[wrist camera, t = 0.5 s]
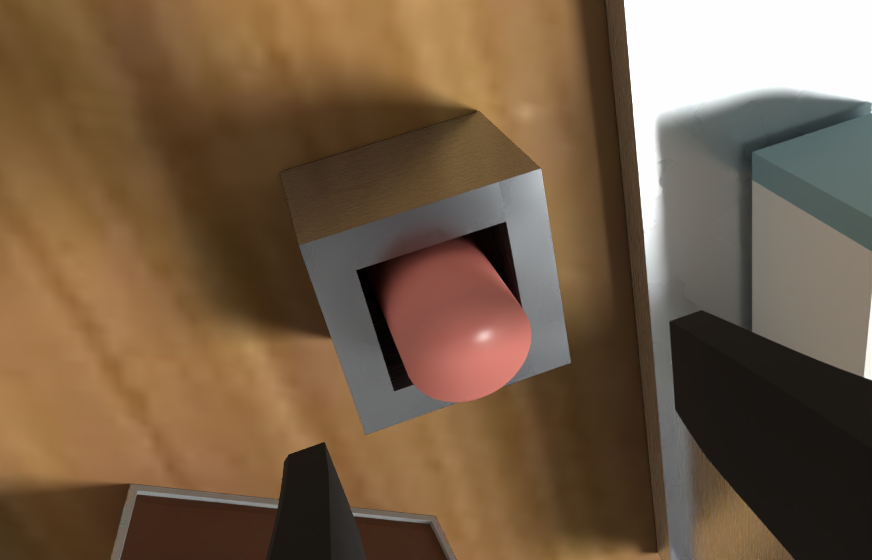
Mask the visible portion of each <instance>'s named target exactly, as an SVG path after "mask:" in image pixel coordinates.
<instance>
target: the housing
mask: <svg viewBox="0 0 872 560" xmlns="http://www.w3.org/2000/svg"><path fill="white" fill-rule="evenodd" d="M605 2H606V13H607V23H608V33H609V44H610V54H611V65H612V75H613V86H614V96H615V107H616V117H617V128H618V138H619V149H620V159H621V170H622V180H623V191H624V201H625V212H626V222H627V233H628V243H629V254H630V264H631V275H632V285H633V296H634V306H635V317H636V327H637V338H638V348H639V359H640V369H641V380H642V390H643V401H644V411H645V422H646V432H647V443H648V453H649V464H650V474H651V485H652V495H653V506H654V516H655V527H656V537H657V548H658V555H659V556H660V558H661V559H662V560H794V559H793V557H792V556H791V555H790V554H789V553H788V551H787V550H786V549H785V548H784V547H783V546H782V545H781V543H780V542H779V541H778V540H777V539H776V538H775V536H774V535H773V534H772V533H771V532H770V531H769V530H768V528H767V527H766V526H765V525H764V524H763V523H762V522H761V520H760V519H759V518H758V517H757V516H756V515H755V513H754V512H753V511H752V510H751V509H750V508H749V507H748V505H747V504H746V503H745V502H744V501H743V500H742V499H741V497H740V496H739V495H738V494H737V493H736V492H735V490H734V489H733V488H732V487H731V486H730V485H729V483H728V482H727V481H726V480H725V479H724V478H723V476H722V475H721V474H720V473H719V472H718V471H717V469H716V468H715V467H714V466H713V465H712V463H711V462H710V461H709V460H708V459H707V458H706V456H705V455H704V453H703V452H702V450H701V449H700V447H699V446H698V444H697V443H696V441H695V440H694V438H693V437H692V436H691V434H690V432H689V431H688V429H687V428H686V426H685V425H684V423H683V421H682V420H681V418H680V417H679V415H678V414H677V412H676V410H675V400H674V385H673V370H672V355H671V341H670V326H669V321H672V320H674V319H677V318H680V317H683V316H686V315H689V314H692V313H694V312H697V311H700V310H702V311H705V312H707V313H710V314H712V315H715V316H717V317H719V318H722V319H724V320H726V321H729V322H731V323H733V324H735V325H738V326H740V327H742V328H744V329H747V330H749V331H751V332H752V152H754V151H757V150H760V149H763V148H766V147H769V146H772V145H775V144H778V143H781V142H784V141H787V140H791V139H794V138H797V137H800V136H803V135H806V134H809V133H812V132H815V131H818V130H821V129H824V128H827V127H830V126H833V125H836V124H839V123H843V122H846V121H849V120H852V119H855V118H858V117H861V116H864V115H867V114H870V113H872V0H605Z"/></svg>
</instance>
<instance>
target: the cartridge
mask: <svg viewBox="0 0 872 560" xmlns="http://www.w3.org/2000/svg"><path fill="white" fill-rule="evenodd" d="M752 332H753V333H756V334H758V335H760V336H763V337H765V338H767V339H769V340H772V341H774V342H776V343H779V344H781V345H783V346H786V347H788V348H790V349H793V350H795V351H797V352H800V353H802V354H805V355H807V356H809V357H812V358H814V359H817V360H819V361H822V362H824V363H827V364H829V365H832V366H835V367H837V368H840V369H842V370H845V371H848V372H850V373H853V374H856V375H859V376H862V377H864V378H867V379H870V380H872V113H870V114H867V115H864V116H861V117H858V118H855V119H852V120H849V121H846V122H843V123H839V124H836V125H833V126H830V127H827V128H824V129H821V130H818V131H815V132H812V133H809V134H806V135H803V136H800V137H797V138H794V139H791V140H787V141H784V142H781V143H778V144H775V145H772V146H769V147H766V148H763V149H760V150H757V151H754V152H752Z"/></svg>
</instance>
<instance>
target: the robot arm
mask: <svg viewBox="0 0 872 560" xmlns="http://www.w3.org/2000/svg"><path fill="white" fill-rule="evenodd" d="M669 326H670V341H671V355H672V370H673V385H674V400H675V410H676V412H677V414H678V415H679V417H680V418H681V420H682V421H683V423H684V425H685V426H686V428H687V429H688V431H689V432H690V434H691V436H692V437H693V438H694V440H695V441H696V443H697V444H698V446H699V447H700V449H701V450H702V452H703V453H704V455H705V456H706V458H707V459H708V460H709V461H710V462H711V463H712V465H713V466H714V467H715V468H716V469H717V471H718V472H719V473H720V474H721V475H722V476H723V478H724V479H725V480H726V481H727V482H728V483H729V485H730V486H731V487H732V488H733V489H734V490H735V492H736V493H737V494H738V495H739V496H740V497H741V499H742V500H743V501H744V502H745V503H746V504H747V505H748V507H749V508H750V509H751V510H752V511H753V512H754V513H755V515H756V516H757V517H758V518H759V519H760V520H761V522H762V523H763V524H764V525H765V526H766V527H767V528H768V530H769V531H770V532H771V533H772V534H773V535H774V536H775V538H776V539H777V540H778V541H779V542H780V543H781V545H782V546H783V547H784V548H785V549H786V550H787V551H788V553H789V554H790V555H791V556H792V557H793V559H794V560H872V380H870V379H867V378H864V377H862V376H859V375H856V374H853V373H850V372H848V371H845V370H842V369H840V368H837V367H835V366H832V365H829V364H827V363H824V362H822V361H819V360H817V359H814V358H812V357H809V356H807V355H805V354H802V353H800V352H797V351H795V350H793V349H790V348H788V347H786V346H783V345H781V344H779V343H776V342H774V341H772V340H769V339H767V338H765V337H763V336H760V335H758V334H756V333H753V332H751V331H749V330H747V329H744V328H742V327H740V326H738V325H735V324H733V323H731V322H729V321H726V320H724V319H722V318H719V317H717V316H715V315H712V314H710V313H707V312H705V311H702V310H700V311H697V312H694V313H692V314H689V315H686V316H683V317H680V318H677V319H674V320H672V321H669ZM266 560H367V559H366V555H365V552H364V548H363V544H362V541H361V537H360V533H359V530H358V526H357V523H356V521H355V518H354V516H353V513H352V511H351V508H350V506H349V503H348V500H347V498H346V495H345V493H344V490H343V488H342V485H341V483H340V480H339V478H338V475H337V472H336V470H335V467H334V465H333V462H332V460H331V457H330V455H329V452H328V450H327V447H326V444H325V442H323V443H320V444H318V445H315V446H312V447H309V448H306V449H303V450H300V451H298V452H295V453H292V454H289V455H288V457H287V458H286V460H285V461H284V469H283V478H282V485H281V492H280V498H279V503H278V508H277V513H276V518H275V523H274V528H273V532H272V536H271V540H270V544H269V548H268V552H267V556H266Z"/></svg>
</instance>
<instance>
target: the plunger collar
mask: <svg viewBox="0 0 872 560" xmlns="http://www.w3.org/2000/svg"><path fill="white" fill-rule="evenodd" d="M280 175H281V179H282V183H283V187H284V191H285V195H286V198H287V202H288V206H289V210H290V214H291V218H292V222H293V225H294V229H295V233H296V237H297V241H298V245H299V248H300V251H301V253H302V256H303V259H304V262H305V265H306V268H307V270H308V273H309V276H310V279H311V282H312V285H313V287H314V290H315V293H316V296H317V299H318V302H319V304H320V307H321V310H322V313H323V316H324V319H325V321H326V324H327V327H328V330H329V333H330V336H331V338H332V341H333V344H334V347H335V350H336V353H337V355H338V358H339V361H340V364H341V367H342V370H343V372H344V375H345V378H346V381H347V384H348V387H349V389H350V392H351V395H352V398H353V401H354V404H355V406H356V409H357V412H358V415H359V418H360V421H361V423H362V426H363V429H364V432H365V435H367V434H370V433H373V432H375V431H378V430H381V429H384V428H387V427H390V426H393V425H395V424H398V423H401V422H404V421H407V420H410V419H412V418H415V417H418V416H421V415H424V414H427V413H430V412H432V411H435V410H438V409H441V408H444V407H447V406H449V405H452V404H455V403H458V402H446V401H440V400H437V399H434V398H432V397H429V396H427V395H426V394H424V393H422V392H421V391H420V390H419V389H418V388H416V386H415V385H414V384H413V383H412V381H411V380H410V378H409V376H408V374H407V371H406V369H405V366H404V364H403V362H402V359H401V357H400V354H399V352H398V349H397V347H396V344H395V342H394V339H393V337H392V334H391V332H390V329H389V327H388V324H387V322H386V319H385V317H384V314H383V312H382V309H381V307H380V304H379V302H378V299H377V297H376V298H373V299H370V300H367V301H366V300H365V297H364V294H363V291H362V288H361V285H360V281H359V278H358V275H357V272H356V270H358V269H361V268H364V267H367V266H371V265H374V264H377V263H380V262H383V261H386V260H389V259H392V258H395V257H398V256H401V255H404V254H407V253H411V252H414V251H417V250H420V249H423V248H426V247H429V246H432V245H435V244H438V243H441V242H444V241H447V240H451V239H454V238H457V237H460V236H463V235H466V234H470V235H471V237H472V238H473V239H474V241H475V242H476V244H477V245H478V247H479V248H480V249H481V251H482V252H483V254H484V255H485V256H486V258H487V259H488V261H489V262H490V263H491V265H492V266H493V268H494V269H495V270H496V272H497V273H498V275H499V276H500V278H501V279H502V280H503V282H504V283H505V285H506V286H507V287H508V289H509V290H510V292H511V293H512V294H513V296H514V297H515V299H516V300H517V302H518V303H519V304H520V306H521V307H522V309H523V310H524V312H525V313H526V315H527V317H528V319H529V323H530V326H531V344H530V349H529V352H528V355H527V357H526V359H525V361H524V363H523V365H522V366H521V368H520V369H519V371H518V372H517V373H516V374H515V376H514V377H513V378H512V379H511V380H510V381H509V382H507V383H506V384H505V385H504V386H506V385H509V384H512V383H515V382H518V381H521V380H523V379H526V378H529V377H532V376H535V375H538V374H541V373H543V372H546V371H549V370H552V369H555V368H558V367H560V366H563V365H566V364H569V363H571V359H570V353H569V346H568V340H567V333H566V327H565V320H564V314H563V307H562V301H561V294H560V288H559V282H558V275H557V269H556V262H555V256H554V249H553V243H552V236H551V230H550V223H549V217H548V210H547V204H546V197H545V191H544V184H543V178H542V171H541V168H540V167H539V166H538V165H537V164H536V163H535V162H534V161H532V160H531V159H530V158H529V157H528V156H527V155H526V154H525V153H524V152H523V151H522V150H521V149H520V148H518V147H517V146H516V145H515V144H514V143H513V142H512V141H511V140H510V139H509V138H508V137H507V136H506V135H505V134H503V133H502V132H501V131H500V130H499V129H498V128H497V127H496V126H495V125H494V124H493V123H492V122H491V121H489V120H488V119H487V118H486V117H485V116H484V115H483V114H482V113H481V112H480V111H478V112H475V113H472V114H468V115H465V116H462V117H459V118H455V119H452V120H449V121H446V122H442V123H439V124H436V125H433V126H429V127H426V128H423V129H419V130H416V131H413V132H410V133H406V134H403V135H400V136H397V137H393V138H390V139H387V140H384V141H380V142H377V143H374V144H370V145H367V146H364V147H361V148H357V149H354V150H351V151H348V152H344V153H341V154H338V155H335V156H331V157H328V158H325V159H321V160H318V161H315V162H312V163H308V164H305V165H302V166H299V167H295V168H292V169H289V170H286V171H282V172H280ZM504 386H502V387H504Z"/></svg>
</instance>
